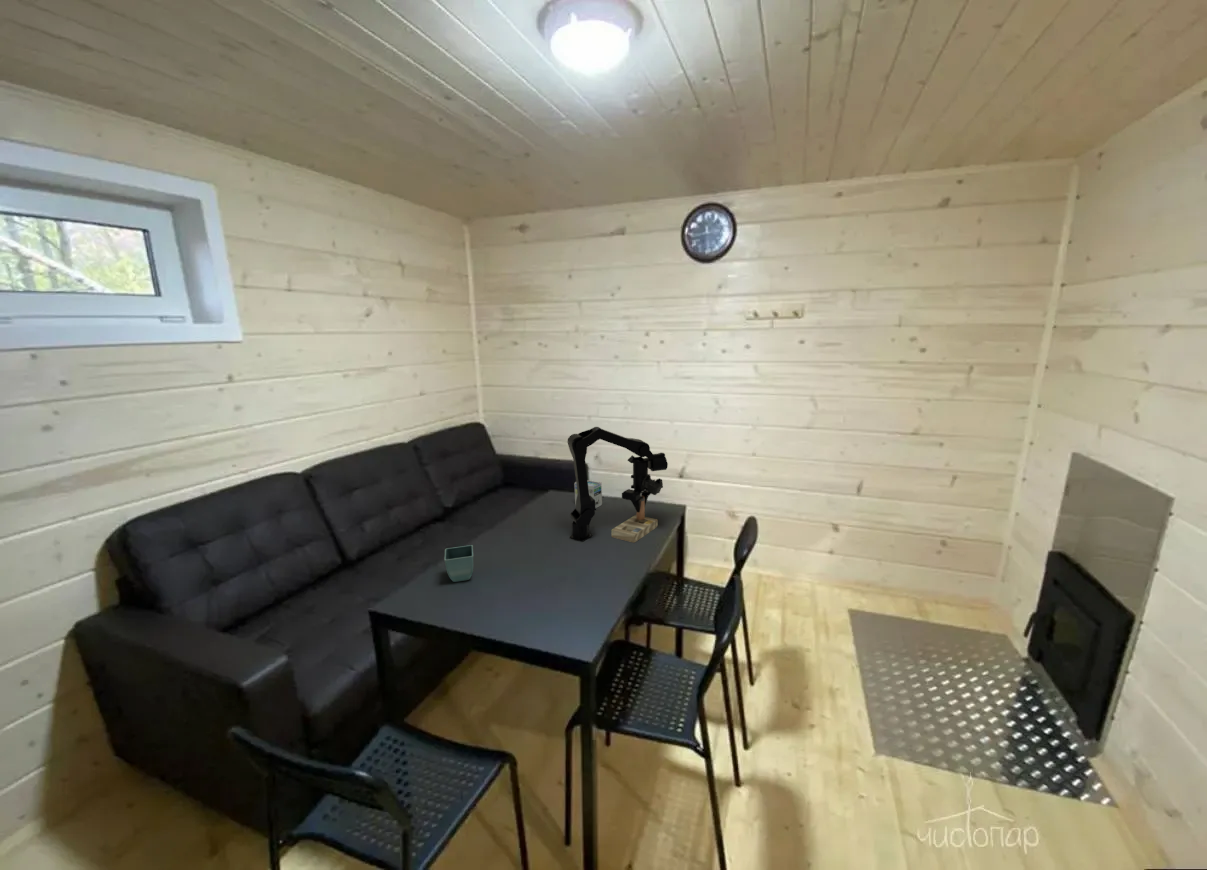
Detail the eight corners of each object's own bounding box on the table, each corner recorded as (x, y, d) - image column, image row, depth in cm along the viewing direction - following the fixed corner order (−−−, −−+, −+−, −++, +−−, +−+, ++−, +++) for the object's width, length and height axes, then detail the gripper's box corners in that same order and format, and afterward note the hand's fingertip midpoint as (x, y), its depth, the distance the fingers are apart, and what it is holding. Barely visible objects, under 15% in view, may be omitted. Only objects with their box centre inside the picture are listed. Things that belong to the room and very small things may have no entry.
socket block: (634, 542, 187) (634, 534, 187) (611, 537, 193) (611, 529, 192) (657, 526, 202) (657, 518, 201) (635, 521, 207) (635, 514, 207)
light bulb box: (602, 504, 228) (602, 481, 225) (594, 509, 222) (593, 486, 220) (583, 501, 233) (582, 478, 231) (574, 505, 228) (573, 482, 225)
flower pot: (446, 586, 159) (444, 560, 157) (447, 573, 167) (444, 548, 165) (475, 582, 161) (473, 556, 159) (474, 569, 169) (472, 544, 167)
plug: (642, 520, 198) (642, 498, 196) (634, 519, 200) (634, 497, 198) (646, 517, 200) (646, 496, 199) (639, 516, 202) (638, 494, 200)
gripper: (646, 482, 184) (646, 522, 187) (670, 469, 199) (669, 507, 202) (620, 477, 190) (621, 516, 194) (645, 465, 205) (645, 502, 209)
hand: (640, 510), depth 199 cm, fingers closed on plug, 3 cm apart
